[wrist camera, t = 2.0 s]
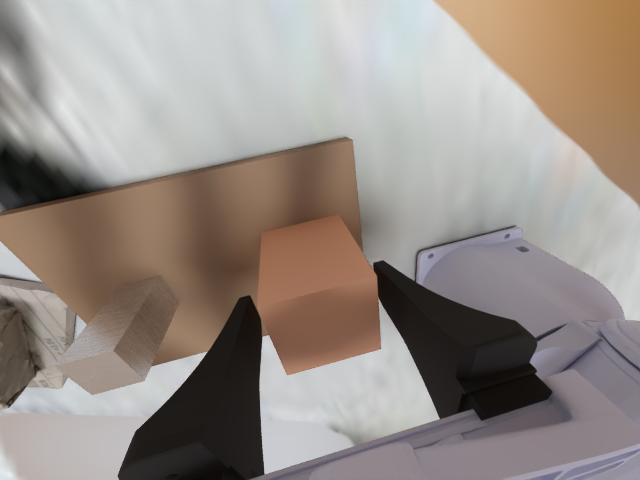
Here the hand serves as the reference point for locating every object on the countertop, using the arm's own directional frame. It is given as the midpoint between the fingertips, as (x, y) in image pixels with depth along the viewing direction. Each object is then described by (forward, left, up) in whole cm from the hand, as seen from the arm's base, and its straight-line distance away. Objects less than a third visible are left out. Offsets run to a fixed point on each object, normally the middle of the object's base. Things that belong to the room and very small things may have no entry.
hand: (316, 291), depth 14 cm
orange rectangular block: (0, 0, -4) cm, 4 cm away
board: (+6, 0, -5) cm, 8 cm away
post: (+11, 0, -4) cm, 12 cm away
